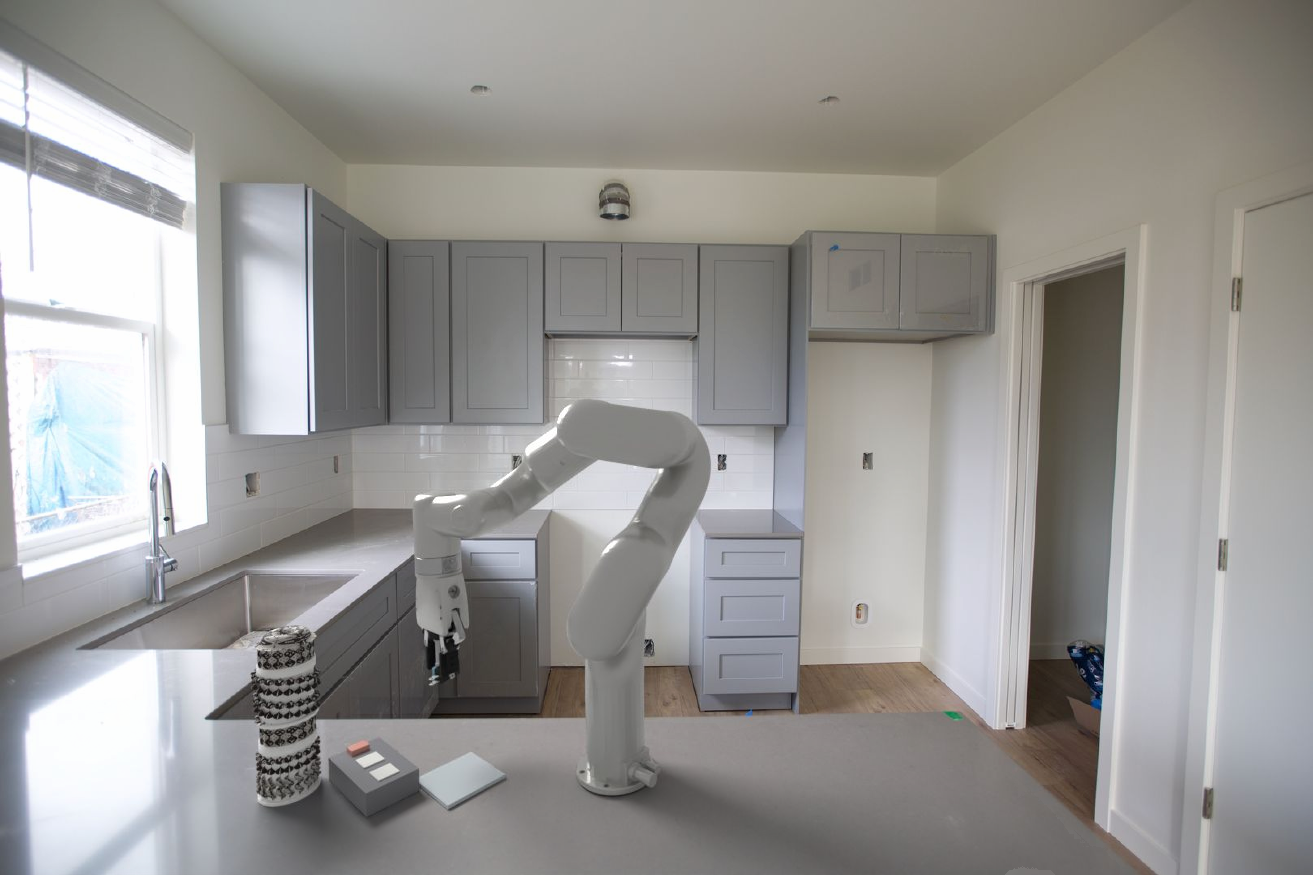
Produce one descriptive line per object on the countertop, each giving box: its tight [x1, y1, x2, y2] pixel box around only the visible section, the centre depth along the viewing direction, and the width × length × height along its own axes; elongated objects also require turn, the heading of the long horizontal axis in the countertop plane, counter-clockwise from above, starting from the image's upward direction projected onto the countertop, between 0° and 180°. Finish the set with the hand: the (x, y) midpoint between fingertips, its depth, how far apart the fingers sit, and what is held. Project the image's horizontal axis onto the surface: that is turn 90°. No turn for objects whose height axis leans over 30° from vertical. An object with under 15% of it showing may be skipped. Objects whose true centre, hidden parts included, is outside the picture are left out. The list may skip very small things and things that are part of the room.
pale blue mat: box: [419, 751, 506, 810], centre depth 93 cm, size 10×10×1 cm
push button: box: [427, 628, 461, 687], centre depth 100 cm, size 7×5×10 cm
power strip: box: [327, 736, 420, 818], centre depth 92 cm, size 14×8×4 cm, turn 49°
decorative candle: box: [250, 624, 322, 808], centre depth 91 cm, size 9×9×25 cm
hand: (442, 669), depth 100 cm, fingers closed on push button, 3 cm apart
